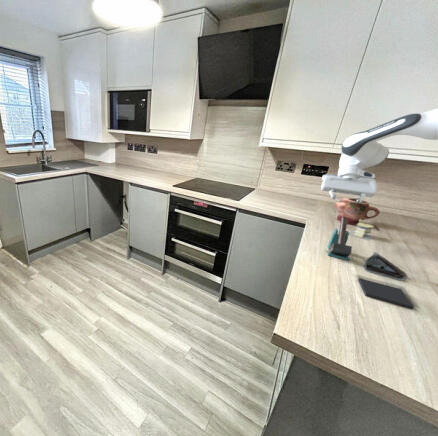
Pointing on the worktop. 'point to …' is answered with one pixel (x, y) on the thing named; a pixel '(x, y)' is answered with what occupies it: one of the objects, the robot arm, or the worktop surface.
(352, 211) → the pink floral mug
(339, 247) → the mallet
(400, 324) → the worktop surface
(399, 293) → the mat
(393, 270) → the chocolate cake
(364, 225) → the stacked layers on plate
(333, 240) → the rest
